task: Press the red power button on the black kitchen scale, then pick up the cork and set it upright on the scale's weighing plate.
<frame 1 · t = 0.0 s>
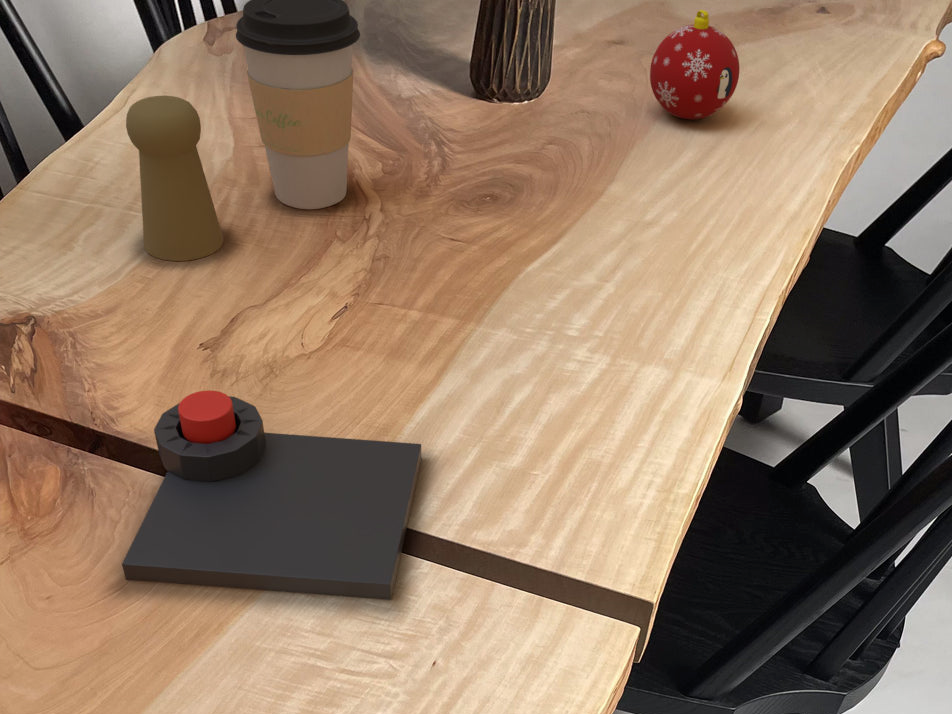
scale button: (207, 417, 63), point 3 cm above the table, slide at 0.1 cm
scale: (284, 515, 62), on the table
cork: (184, 244, 86), on the table
christmas ornament: (687, 118, 110), on the table
coffee cup: (312, 196, 93), on the table
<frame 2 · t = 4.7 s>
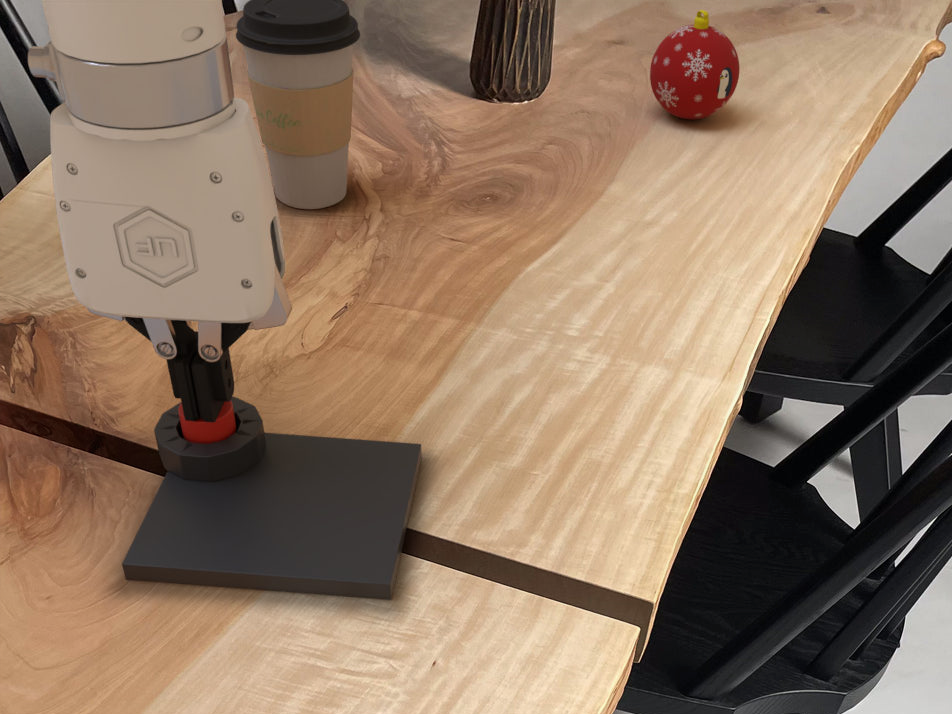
hand: (207, 407, 62), 4 cm above the table, tool pointing down, fingers closed
scale button: (207, 419, 63), point 3 cm above the table, slide at 0.0 cm, touching gripper
everything else where it was.
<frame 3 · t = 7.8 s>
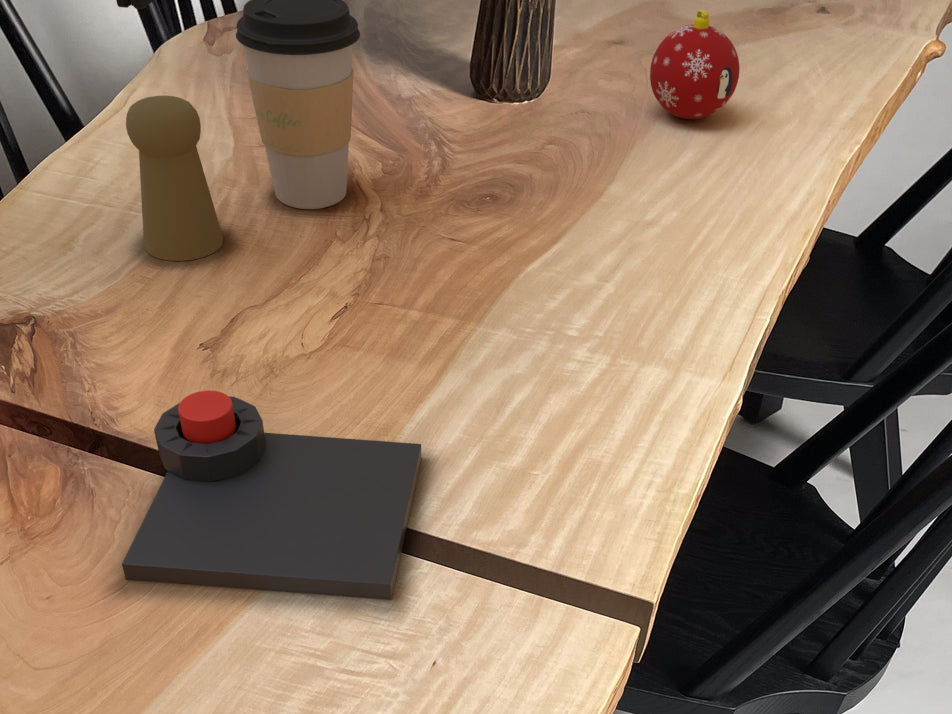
hand: (138, 1, 72), 19 cm above the table, tool pointing down, fingers closed
scale button: (207, 417, 63), point 3 cm above the table, slide at 0.1 cm
everything else where it was.
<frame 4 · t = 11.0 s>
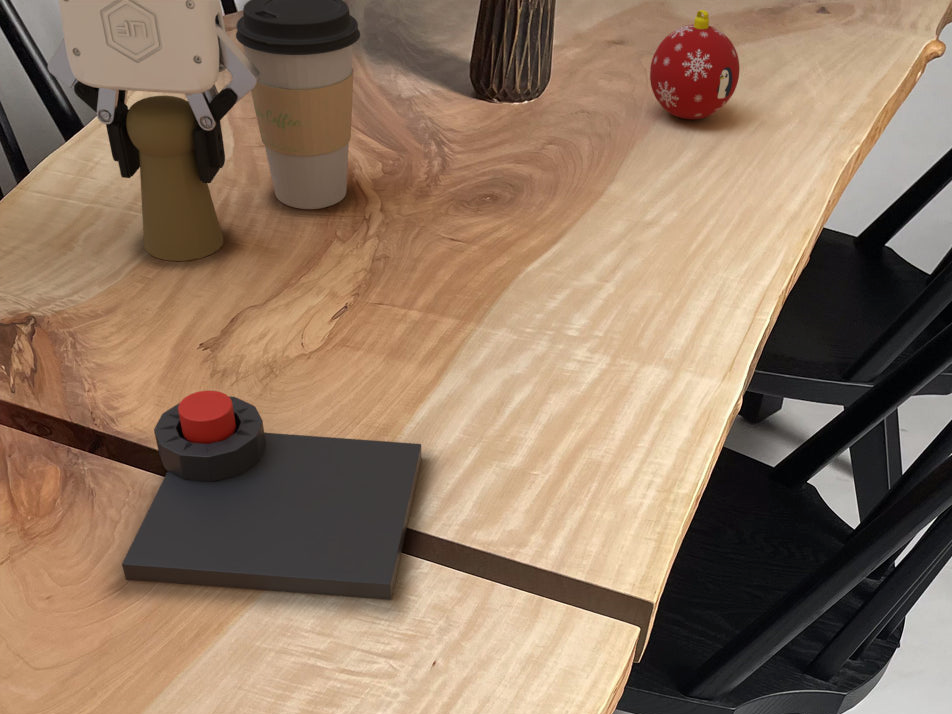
hand: (171, 170, 82), 6 cm above the table, tool pointing down, fingers closed on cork, 5 cm apart
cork: (184, 244, 86), on the table, touching gripper
everything else where it was.
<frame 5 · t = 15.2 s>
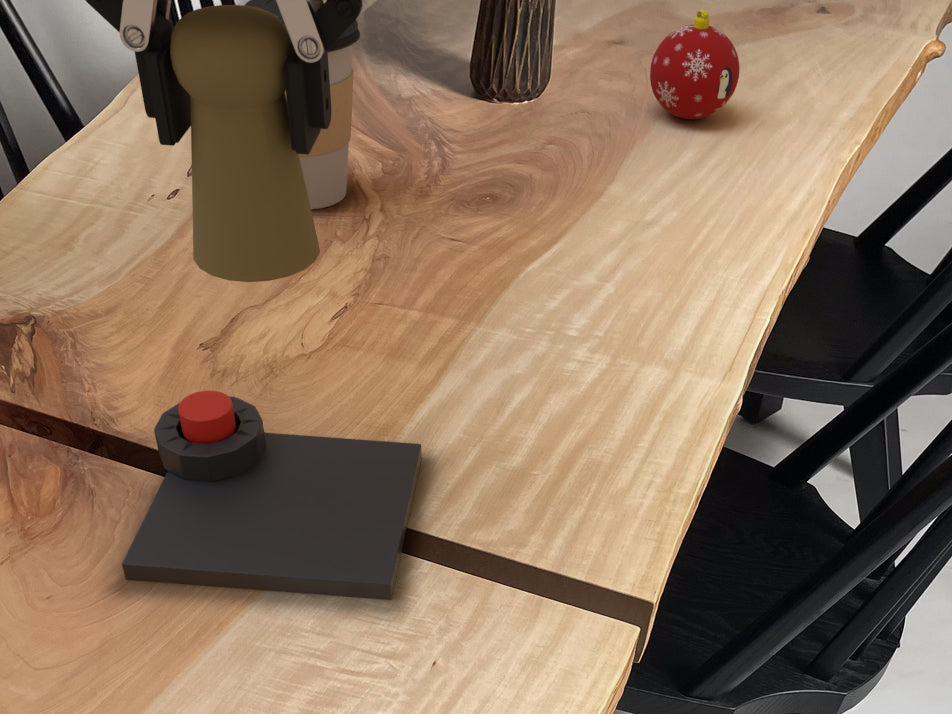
hand: (242, 133, 49), 21 cm above the table, tool pointing down, fingers closed on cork, 5 cm apart
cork: (257, 254, 53), point 15 cm above the table, touching gripper
everything else where it was.
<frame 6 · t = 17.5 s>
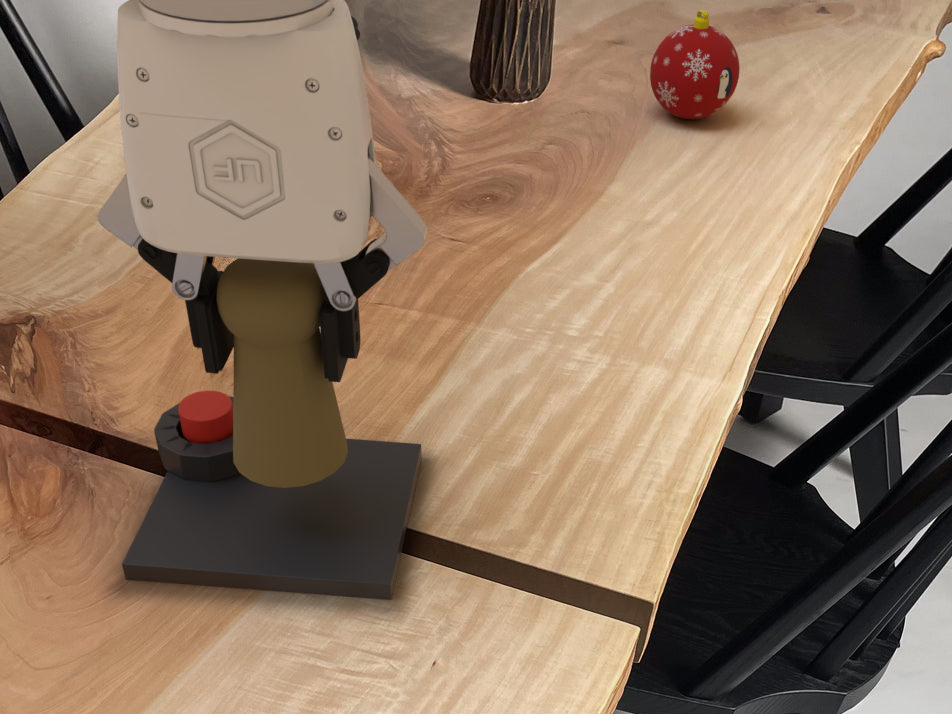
hand: (279, 359, 54), 11 cm above the table, tool pointing down, fingers closed on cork, 5 cm apart
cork: (291, 454, 58), point 5 cm above the table, touching gripper
everything else where it was.
when the fingers open (7 cm above the table, at t = 19.2 s): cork stays where it is, resting on scale.
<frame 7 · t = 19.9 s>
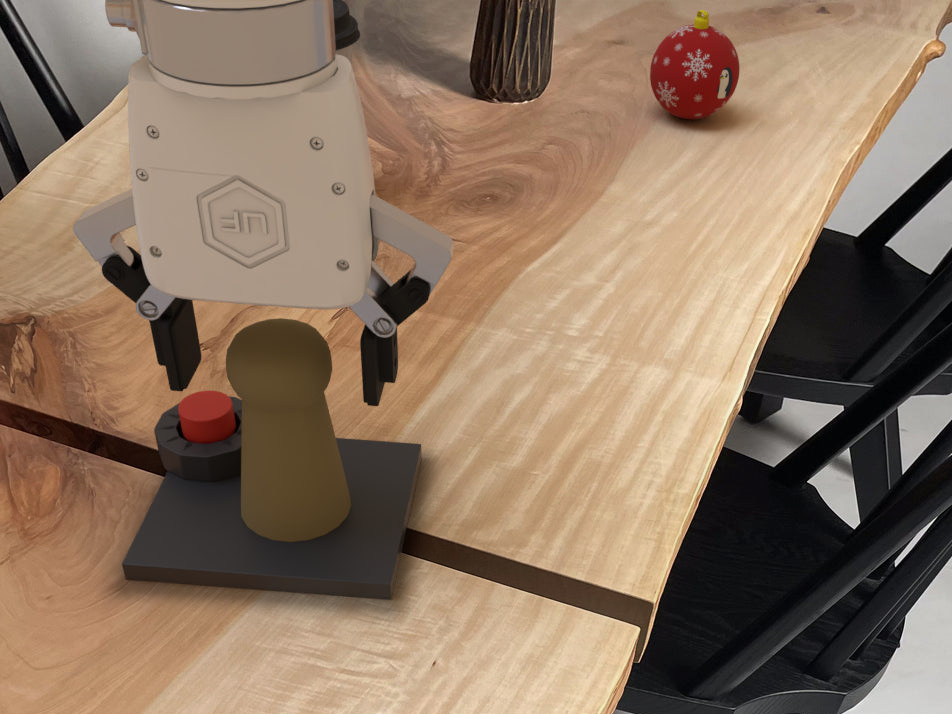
hand: (281, 383, 55), 9 cm above the table, tool pointing down, fingers open, 9 cm apart
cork: (296, 507, 61), point 1 cm above the table, touching scale
everything else where it was.
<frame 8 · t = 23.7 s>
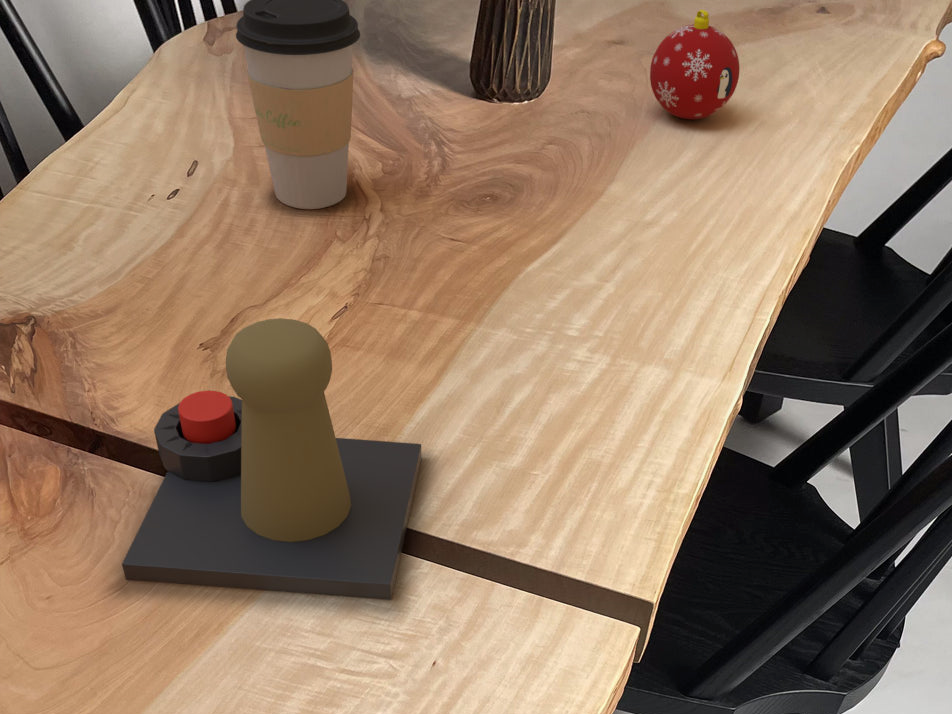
nothing on the table moved.
at the end: scale button pushed in 1.0 cm at the most during the clip, back to where it started at the end; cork inside the target area on the scale (1.0 cm from its centre), point 1.0 cm above the scale's base; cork tilted 0° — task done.
